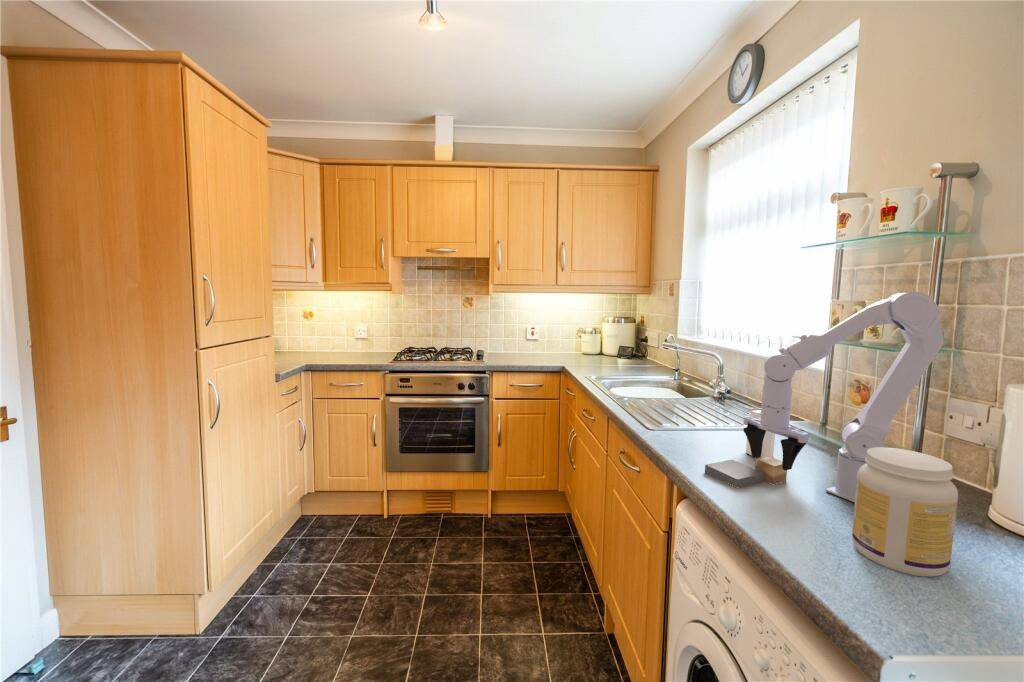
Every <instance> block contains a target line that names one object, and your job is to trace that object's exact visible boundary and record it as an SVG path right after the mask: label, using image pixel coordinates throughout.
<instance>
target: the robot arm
mask: <svg viewBox="0 0 1024 682" xmlns="http://www.w3.org/2000/svg"><path fill="white" fill-rule="evenodd" d="M941 316H942V310H941V308H940V307H939V305H938V304H937V303H936V301H935V300H934V299H933V298H932V297H931V296H930V295H929V294H928V293H927V294H926V293H924V292H921V291H902V292H896V293H894V294H892V295H890V296H889V297H888V298H885V299H884V298H883V299H881V300H879V301H876V302H874V303H872V304H870V305H868V306H866V307H864V308H862V309H861V310H859V311H857V312H856V313H854V314H852V315H851V316H849V317H848V318H846V319H845V320H843V321H841V322H840V323H838V324H836V325H834V326H833V327H832V328H829V329H828V330H827V331H825V332H823V333H814V332H811V333H809V334H808V335H807V334H805V333H803V334H802V335H800V336H799V340H797V341H795V342H793V343H791V344H790V345H788V346H786V347H785V348H784V347H781V348H779V349H778V351H779V353H774V354H771V355H769V357H768V358H767V359H766V360H765V362H764V369H763V370H764V372H765V376H764V379H763V382H764V384H762V395H761V398H762V399H761V408H760V409H761V419H760V418H755V417H751V416H749V415H747V416H746V415H745V416H744V417H743V426H746V427H743V433H744V434H745V436H746V439H747V438H748V441H749V444H750V448H751V453H752V456H751V458H753V459H759V458H758V457H761V453H762V444H763V439H764V436H765V433H766V431H769V432H772V433H775V435H779V436H782V437H784V439H780V444H781V448H782V450H781V451H782V460H781V461H782V468H783V470H787V471H790V470H792V469H793V465H794V463H795V460H796V458H797V456H798V455H799V453H800V452H801V451H802V449H803V448H804V447H805V446H806V445H807V443H809V436H810V434H809V433H808V432H805V431H802V430H800V429H797V428H796V427H793V426H791V425H790V421H791V420H790V419H791V408H792V407H791V406H792V397H793V396H792V395H793V387H792V379H793V377H794V376H795V373H796V371H802V370H804V369H806V368H808V367H809V366H812V365H814V364H816V363H817V362H819V361H821V360H822V359H825V358H826V357H829V356H830V355H831V351H832V347H833V346H835V345H837V344H839V343H841V342H843V341H845V340H846V339H849V338H850V337H852V336H855V335H856V334H858V333H860V332H862V331H864V330H867V329H868V328H870V327H872V326H883V325H893V323H894V325H895V326H896V327H898V329H899V331H900V332H901V335H902V337H903V338H904V340H905V343H904V345H903V347H902V348H901V350H900V352H899V353H898V355H897V356H896V358H895V359H894V361H893V363H892V364H891V366H890V367H889V368H888V369H887V371H886V373H885V374H884V376H883V378H882V380H881V381H880V383H879V384H878V386H877V387H876V388H875V390H874V391H873V393H872V395H871V397H870V398H869V400H868V402H867V403H866V405H865V406H864V407H863V408H862V409H861V410H860V411H858V412H857V413H856V415H855V416H854V417H853V418H852V419H851V420H850V421H848V422H845V424H843V426H841V428H840V437H841V439H842V441H843V442H844V445H843V446H842V447H841V448H839V449H838V455H837V466H836V477H835V486H831V487H828V488H825V492H827V493H829V494H832V495H834V496H837V497H839V498H842V499H845V500H847V501H850V502H852V503H854V504H855V497H856V486H857V474H858V470H859V469H860V467H861V466H863V465H865V464H867V463H866V462H865V457H866V454H867V450H868V449H870V448H875V447H885V440H886V438H887V437H888V435H889V433H890V429H891V424H892V421H894V418H895V417H896V416H897V415H898V412H899V411H900V410H901V408H902V407H903V405H904V403H906V400H907V399H908V398H909V396H910V395H911V393H912V391H913V390H914V389H915V388H916V386H917V384H918V383H919V382H920V380H921V378H922V376H923V375H924V374H925V373H926V371H927V369H928V368H929V366H930V365H931V363H932V362H933V360H934V359H935V357H936V356H937V354H938V353H939V352H940V350H941V348H942V347H943V344H944V335H943V328H942V327H943V326H942V323H941Z"/></svg>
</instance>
